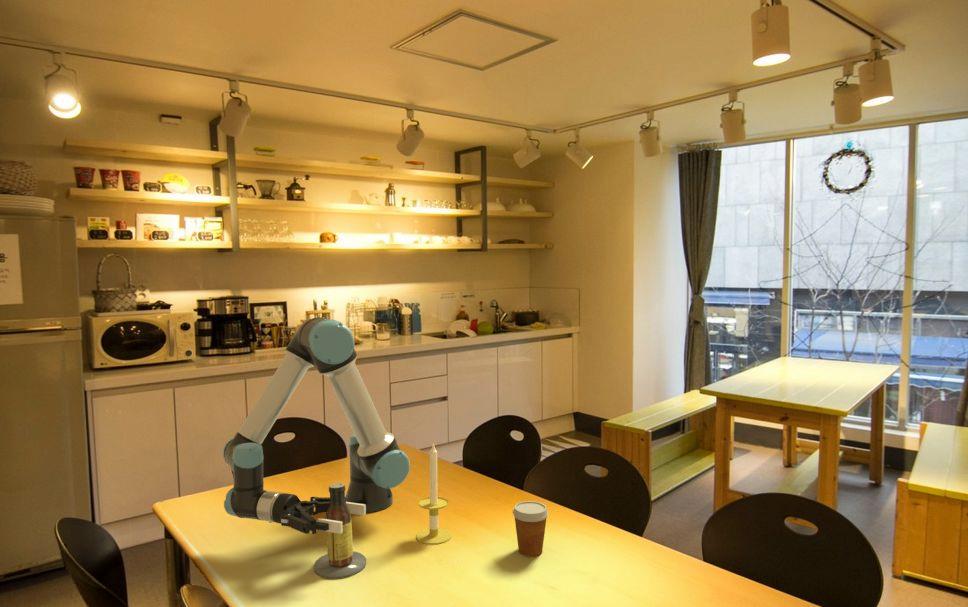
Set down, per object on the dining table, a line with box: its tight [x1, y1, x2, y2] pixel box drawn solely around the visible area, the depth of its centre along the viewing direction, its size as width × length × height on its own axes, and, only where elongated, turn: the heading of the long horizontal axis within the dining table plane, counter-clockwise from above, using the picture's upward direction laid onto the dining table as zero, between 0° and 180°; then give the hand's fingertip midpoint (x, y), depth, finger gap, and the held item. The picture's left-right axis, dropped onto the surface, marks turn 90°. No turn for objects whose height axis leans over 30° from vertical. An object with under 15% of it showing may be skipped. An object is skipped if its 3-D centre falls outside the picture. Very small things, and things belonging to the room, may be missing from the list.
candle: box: [416, 442, 452, 546], centre depth 170 cm, size 10×10×27 cm
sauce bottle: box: [325, 482, 354, 567], centre depth 153 cm, size 7×6×20 cm
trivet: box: [313, 550, 367, 580], centre depth 154 cm, size 13×13×1 cm
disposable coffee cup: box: [512, 500, 550, 557], centre depth 161 cm, size 10×10×12 cm
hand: (353, 518), depth 152 cm, fingers open, 10 cm apart
